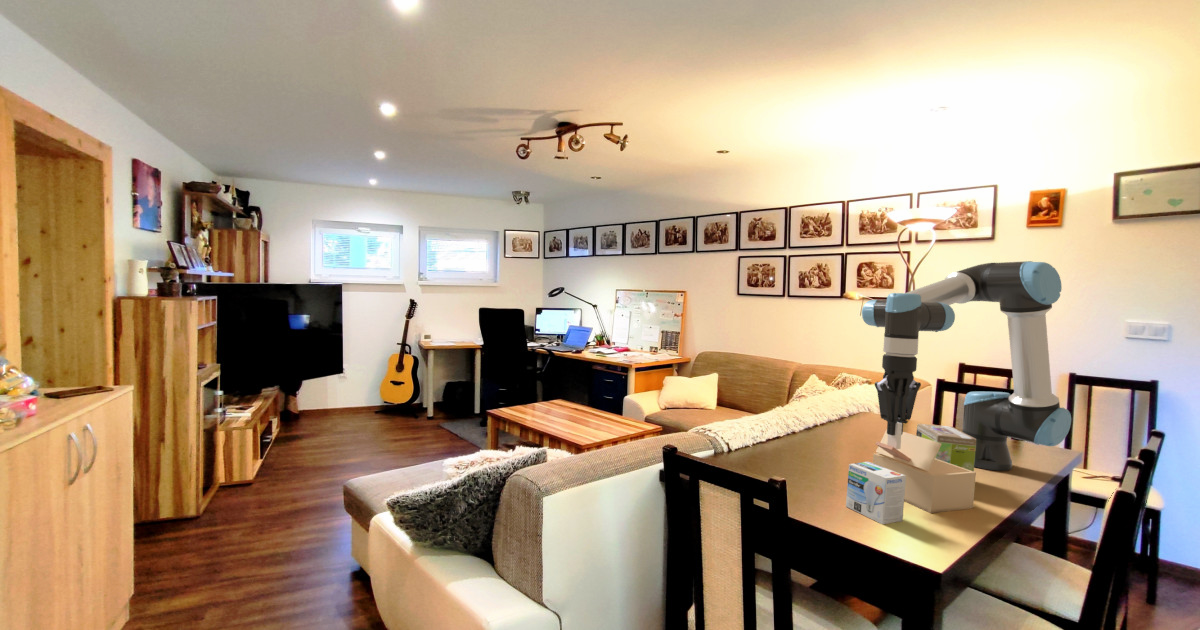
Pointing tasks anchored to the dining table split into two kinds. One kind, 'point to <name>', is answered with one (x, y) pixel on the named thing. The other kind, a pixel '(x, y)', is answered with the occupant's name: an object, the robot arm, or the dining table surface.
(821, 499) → the dining table surface
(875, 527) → the dining table surface
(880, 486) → the light bulb box
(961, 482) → the carton
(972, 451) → the tea box
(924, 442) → the flap
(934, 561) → the dining table surface
